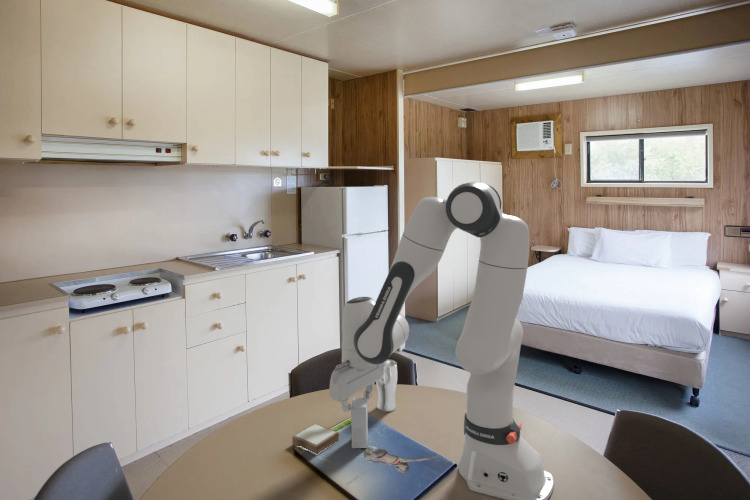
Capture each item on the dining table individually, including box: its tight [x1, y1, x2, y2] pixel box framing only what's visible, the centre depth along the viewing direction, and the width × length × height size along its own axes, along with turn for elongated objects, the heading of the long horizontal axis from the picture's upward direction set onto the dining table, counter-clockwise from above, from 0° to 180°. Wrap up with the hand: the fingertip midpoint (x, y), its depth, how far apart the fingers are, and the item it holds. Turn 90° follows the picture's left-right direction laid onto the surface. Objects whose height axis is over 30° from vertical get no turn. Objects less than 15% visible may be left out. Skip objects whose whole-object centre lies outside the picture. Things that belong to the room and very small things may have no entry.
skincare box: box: [350, 397, 369, 449], centre depth 129 cm, size 6×4×12 cm
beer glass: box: [375, 359, 398, 413], centre depth 150 cm, size 7×7×15 cm
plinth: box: [291, 423, 340, 454], centre depth 130 cm, size 9×9×3 cm
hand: (357, 404), depth 129 cm, fingers open, 8 cm apart
